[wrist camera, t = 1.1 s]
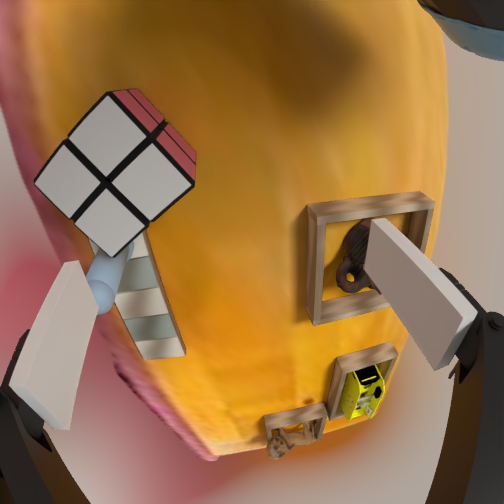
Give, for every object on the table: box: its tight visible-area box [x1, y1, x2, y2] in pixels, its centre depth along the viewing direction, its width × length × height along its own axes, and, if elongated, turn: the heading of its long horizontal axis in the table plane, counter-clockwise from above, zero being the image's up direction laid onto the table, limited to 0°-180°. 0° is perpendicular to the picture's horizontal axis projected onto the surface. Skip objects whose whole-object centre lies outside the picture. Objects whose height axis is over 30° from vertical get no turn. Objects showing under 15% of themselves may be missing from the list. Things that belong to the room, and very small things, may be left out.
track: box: [88, 229, 186, 360], centre depth 38 cm, size 7×23×2 cm, turn 5°
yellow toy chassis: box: [340, 364, 385, 420], centre depth 56 cm, size 16×6×8 cm, turn 5°
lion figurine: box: [266, 420, 316, 460], centre depth 63 cm, size 15×5×9 cm, turn 87°
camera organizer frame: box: [326, 341, 398, 421], centre depth 58 cm, size 12×22×4 cm, turn 5°
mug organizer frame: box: [306, 191, 435, 326], centre depth 39 cm, size 17×17×4 cm
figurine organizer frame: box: [264, 402, 328, 447], centre depth 65 cm, size 14×17×4 cm
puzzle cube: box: [34, 89, 196, 258], centre depth 25 cm, size 10×10×10 cm
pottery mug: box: [336, 217, 382, 295], centre depth 39 cm, size 12×10×8 cm
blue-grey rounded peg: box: [86, 241, 134, 315], centre depth 28 cm, size 4×4×11 cm
